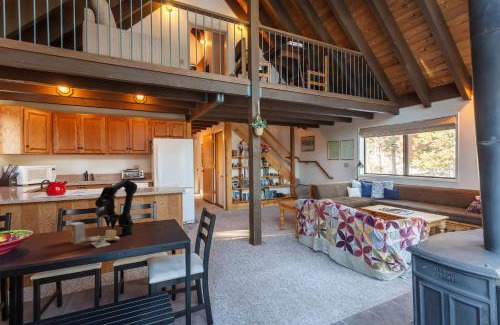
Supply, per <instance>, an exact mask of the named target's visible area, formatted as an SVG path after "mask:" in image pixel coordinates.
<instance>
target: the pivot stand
mask: <svg viewBox="0 0 500 325" xmlns="http://www.w3.org/2000/svg"><path fill="white" fill-rule="evenodd" d="M96 237H101V235H99V234H98V235H97V236H96ZM91 245H92V246H94V247H95V248H97V249H98V248H102V247H107V246H110V245H111V243H109V242H108V240H104V238H102V240H97V241H94V242H93V241H92V242H91Z"/></svg>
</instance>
